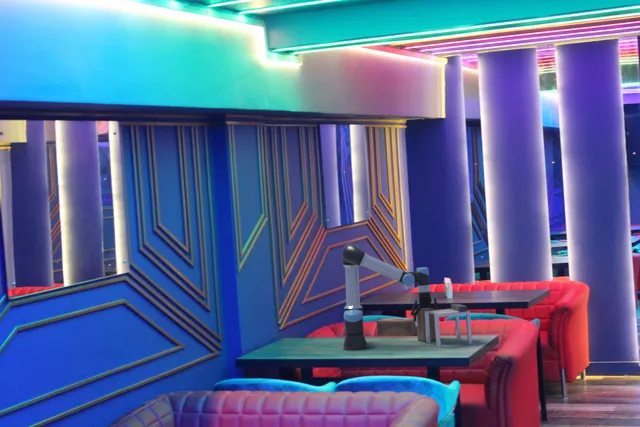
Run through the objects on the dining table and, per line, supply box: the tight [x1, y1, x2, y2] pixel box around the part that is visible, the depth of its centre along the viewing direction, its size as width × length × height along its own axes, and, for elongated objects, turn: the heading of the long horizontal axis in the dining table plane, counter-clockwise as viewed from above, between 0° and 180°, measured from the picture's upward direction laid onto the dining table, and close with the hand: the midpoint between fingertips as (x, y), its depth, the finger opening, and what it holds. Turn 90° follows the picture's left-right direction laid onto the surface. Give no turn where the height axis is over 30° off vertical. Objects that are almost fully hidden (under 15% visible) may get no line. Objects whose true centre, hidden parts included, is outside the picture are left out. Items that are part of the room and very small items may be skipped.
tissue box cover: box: [376, 317, 417, 337], centre depth 645 cm, size 26×14×10 cm, turn 63°
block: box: [416, 307, 436, 342], centre depth 609 cm, size 10×10×20 cm
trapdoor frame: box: [424, 308, 473, 349], centre depth 590 cm, size 22×22×20 cm
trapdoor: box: [429, 303, 468, 315], centre depth 590 cm, size 17×19×4 cm
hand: (427, 324), depth 609 cm, fingers open, 13 cm apart
